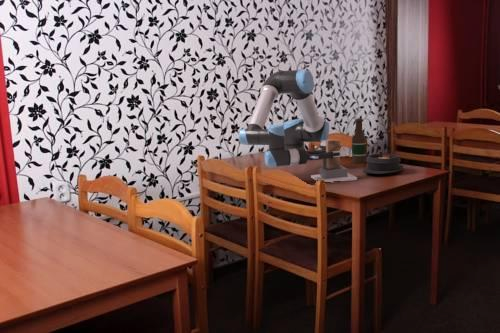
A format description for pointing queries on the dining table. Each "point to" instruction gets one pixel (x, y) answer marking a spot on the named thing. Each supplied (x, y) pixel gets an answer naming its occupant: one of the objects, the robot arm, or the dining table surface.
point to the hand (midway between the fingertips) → (343, 152)
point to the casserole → (383, 164)
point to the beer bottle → (358, 144)
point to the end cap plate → (334, 175)
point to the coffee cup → (323, 146)
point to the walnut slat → (335, 162)
